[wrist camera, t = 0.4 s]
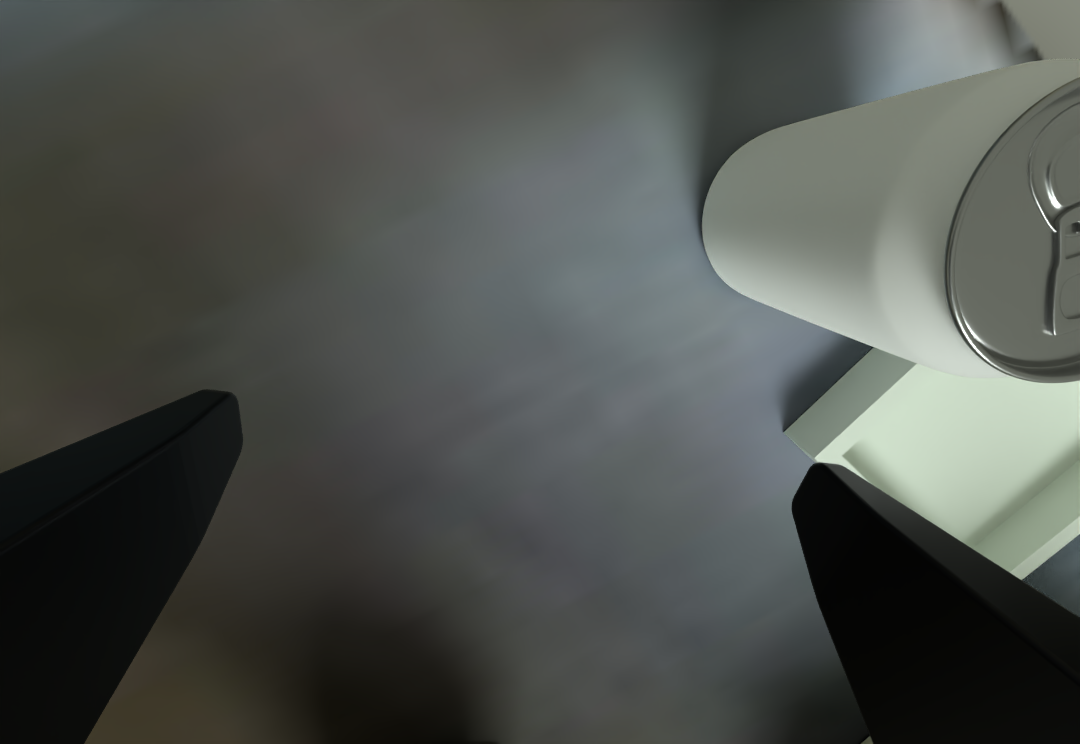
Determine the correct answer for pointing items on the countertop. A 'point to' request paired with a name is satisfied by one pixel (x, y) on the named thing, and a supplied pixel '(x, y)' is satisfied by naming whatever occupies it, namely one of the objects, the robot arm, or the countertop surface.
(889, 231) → the can
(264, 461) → the countertop surface
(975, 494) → the tray
